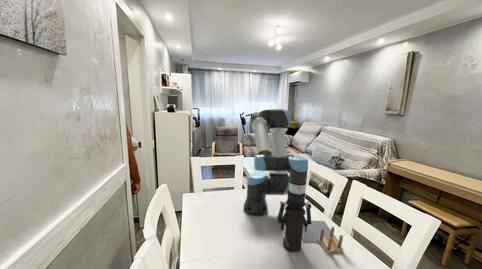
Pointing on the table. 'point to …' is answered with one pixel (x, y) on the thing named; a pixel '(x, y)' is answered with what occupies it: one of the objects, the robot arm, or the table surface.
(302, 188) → the robot arm
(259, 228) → the table surface
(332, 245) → the stool
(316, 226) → the mat
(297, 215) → the container
